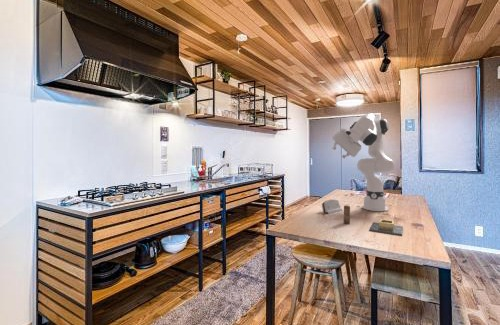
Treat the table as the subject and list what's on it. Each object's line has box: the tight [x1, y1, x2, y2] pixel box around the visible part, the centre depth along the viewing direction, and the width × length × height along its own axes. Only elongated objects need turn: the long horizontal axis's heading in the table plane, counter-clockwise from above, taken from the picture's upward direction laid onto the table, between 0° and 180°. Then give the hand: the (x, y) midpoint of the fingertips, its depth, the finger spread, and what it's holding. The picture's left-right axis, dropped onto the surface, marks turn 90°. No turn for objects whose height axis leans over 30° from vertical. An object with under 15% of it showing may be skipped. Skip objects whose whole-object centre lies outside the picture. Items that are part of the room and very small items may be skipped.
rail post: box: [343, 204, 351, 225], centre depth 161 cm, size 4×4×11 cm
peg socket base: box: [369, 219, 404, 237], centre depth 150 cm, size 16×16×4 cm
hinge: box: [321, 199, 344, 215], centre depth 192 cm, size 17×5×10 cm, turn 124°
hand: (338, 153), depth 172 cm, fingers open, 8 cm apart
